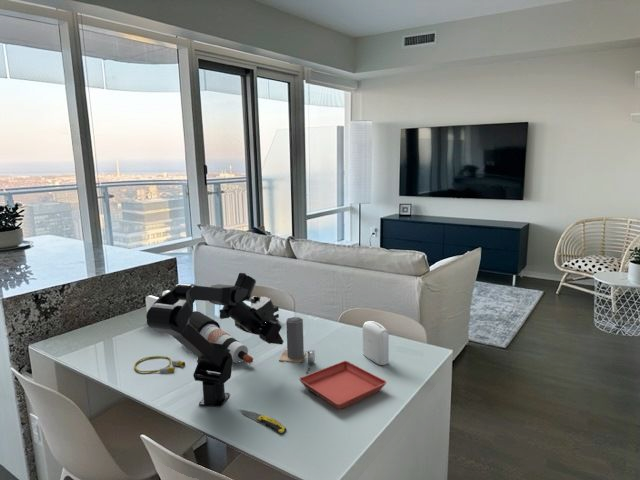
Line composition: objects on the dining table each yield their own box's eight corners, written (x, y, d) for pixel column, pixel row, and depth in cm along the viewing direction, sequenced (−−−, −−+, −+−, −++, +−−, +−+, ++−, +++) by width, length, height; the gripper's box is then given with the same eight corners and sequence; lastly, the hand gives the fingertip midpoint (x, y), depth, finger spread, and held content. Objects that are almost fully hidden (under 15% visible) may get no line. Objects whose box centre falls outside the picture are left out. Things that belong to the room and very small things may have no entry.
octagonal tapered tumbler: (301, 359, 143) (300, 323, 141) (286, 358, 144) (285, 322, 141) (304, 353, 148) (303, 317, 146) (289, 352, 149) (288, 317, 146)
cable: (245, 382, 139) (233, 361, 134) (187, 343, 161) (175, 324, 155) (267, 359, 145) (256, 339, 139) (208, 324, 166) (197, 305, 161)
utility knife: (234, 410, 114) (242, 405, 117) (234, 414, 114) (242, 409, 117) (281, 432, 105) (289, 425, 107) (281, 436, 105) (290, 430, 107)
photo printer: (360, 354, 147) (360, 319, 144) (371, 351, 149) (371, 316, 146) (379, 367, 138) (379, 329, 136) (390, 363, 140) (391, 326, 138)
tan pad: (301, 362, 142) (301, 361, 142) (278, 361, 143) (278, 360, 143) (306, 352, 149) (306, 351, 149) (284, 351, 150) (284, 350, 150)
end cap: (249, 321, 179) (248, 305, 178) (262, 316, 184) (261, 300, 183) (267, 326, 173) (266, 310, 172) (279, 321, 178) (279, 305, 177)
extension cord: (152, 382, 132) (151, 376, 131) (127, 367, 142) (126, 361, 142) (188, 368, 141) (187, 362, 140) (162, 354, 151) (161, 349, 151)
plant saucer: (298, 388, 127) (297, 377, 126) (345, 369, 138) (345, 359, 137) (338, 416, 113) (338, 404, 112) (388, 392, 124) (388, 381, 123)
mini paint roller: (310, 373, 135) (310, 361, 134) (303, 373, 135) (303, 360, 134) (315, 362, 142) (315, 350, 141) (308, 361, 142) (308, 350, 142)
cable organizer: (146, 322, 180) (143, 295, 178) (168, 314, 188) (166, 288, 186) (167, 330, 171) (165, 301, 169) (190, 322, 179) (188, 294, 177)
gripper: (274, 296, 126) (306, 324, 135) (241, 285, 140) (271, 310, 149) (252, 330, 123) (286, 356, 131) (220, 314, 137) (252, 339, 145)
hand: (274, 338), depth 139 cm, fingers open, 9 cm apart
